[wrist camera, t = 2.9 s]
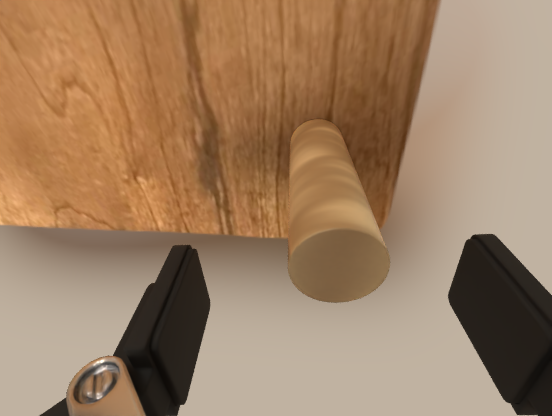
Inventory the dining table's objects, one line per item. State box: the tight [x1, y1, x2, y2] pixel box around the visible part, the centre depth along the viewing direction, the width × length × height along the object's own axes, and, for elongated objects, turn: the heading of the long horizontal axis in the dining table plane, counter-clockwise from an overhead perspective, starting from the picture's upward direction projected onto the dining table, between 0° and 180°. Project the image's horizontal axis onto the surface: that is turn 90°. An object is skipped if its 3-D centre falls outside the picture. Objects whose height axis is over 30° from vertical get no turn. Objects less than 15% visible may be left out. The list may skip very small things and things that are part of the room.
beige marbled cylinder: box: [288, 119, 390, 303], centre depth 16 cm, size 4×4×12 cm
